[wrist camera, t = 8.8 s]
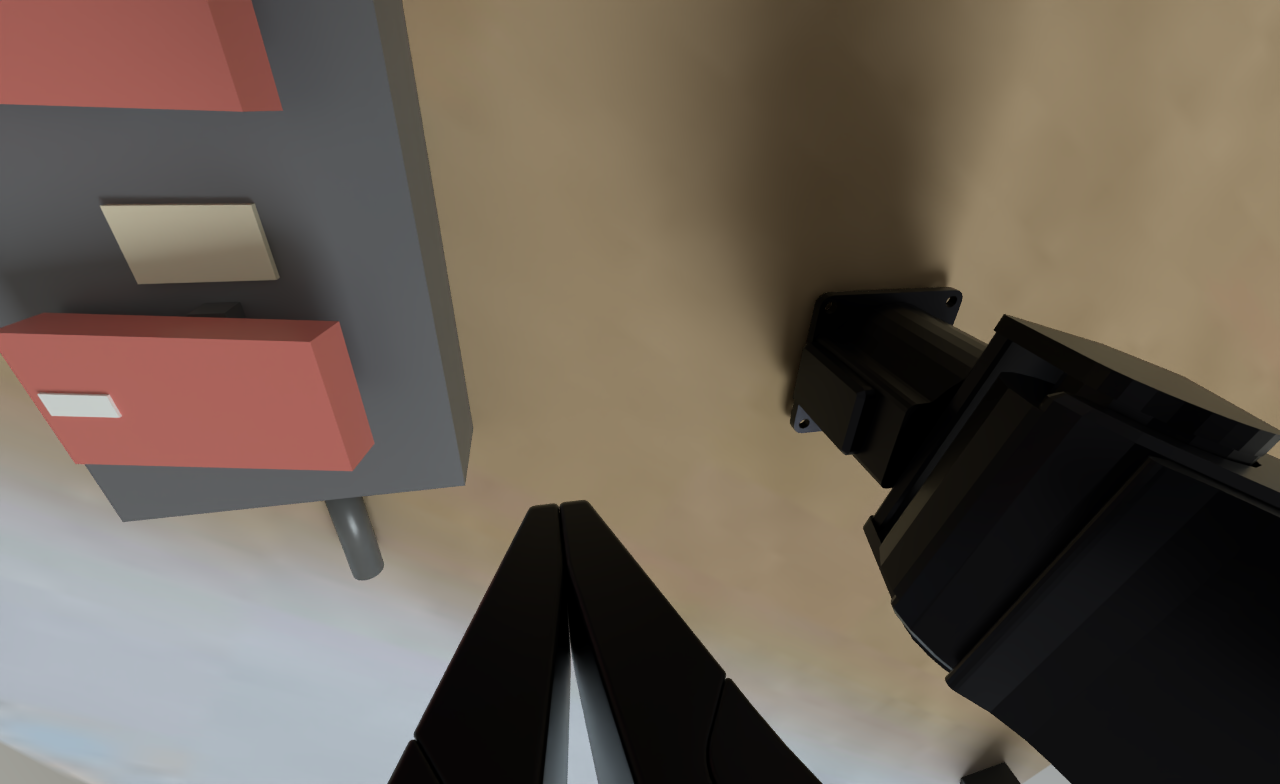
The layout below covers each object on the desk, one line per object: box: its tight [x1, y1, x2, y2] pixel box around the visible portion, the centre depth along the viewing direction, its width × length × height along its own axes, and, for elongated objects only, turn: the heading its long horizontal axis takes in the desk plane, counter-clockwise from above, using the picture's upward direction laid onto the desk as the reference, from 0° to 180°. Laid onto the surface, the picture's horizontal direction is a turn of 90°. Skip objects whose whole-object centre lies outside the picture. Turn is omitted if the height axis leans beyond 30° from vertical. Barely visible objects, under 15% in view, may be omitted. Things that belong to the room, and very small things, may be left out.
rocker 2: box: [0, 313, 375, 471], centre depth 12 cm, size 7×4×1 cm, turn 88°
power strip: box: [0, 0, 473, 580], centre depth 12 cm, size 10×32×4 cm, turn 178°
